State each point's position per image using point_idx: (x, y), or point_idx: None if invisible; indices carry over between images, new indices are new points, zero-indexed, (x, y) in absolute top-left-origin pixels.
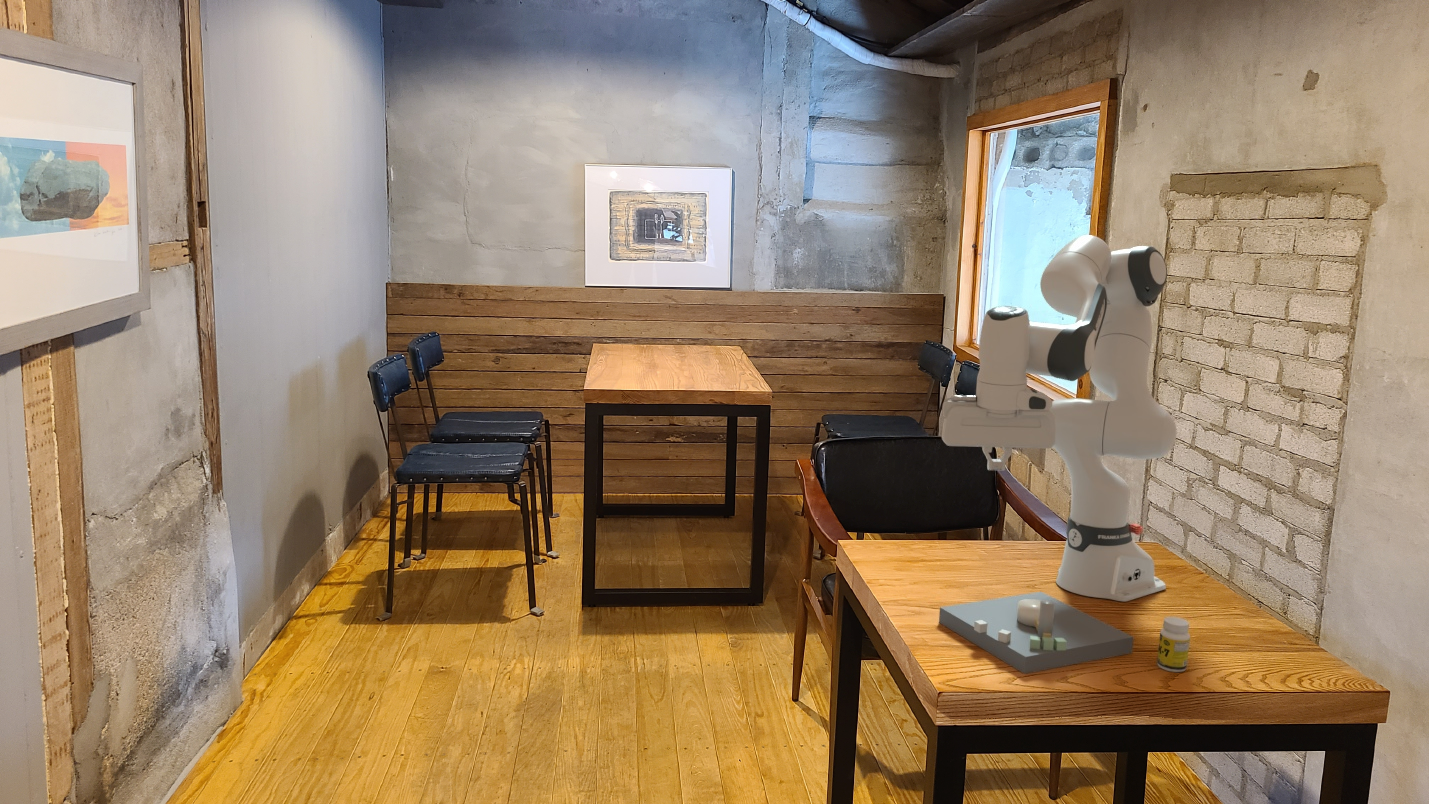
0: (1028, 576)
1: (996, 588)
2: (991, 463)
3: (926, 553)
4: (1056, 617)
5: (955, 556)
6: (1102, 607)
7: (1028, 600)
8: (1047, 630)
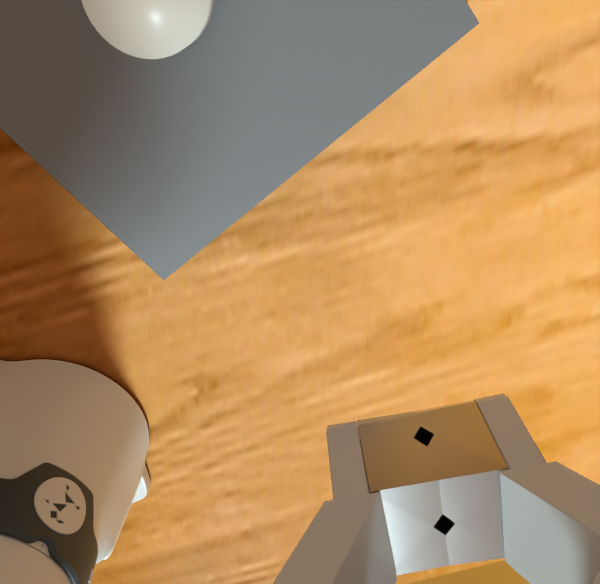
0: (217, 445)
1: (291, 347)
2: (506, 444)
3: None
4: (90, 63)
5: None
6: (13, 304)
7: (174, 36)
8: None
